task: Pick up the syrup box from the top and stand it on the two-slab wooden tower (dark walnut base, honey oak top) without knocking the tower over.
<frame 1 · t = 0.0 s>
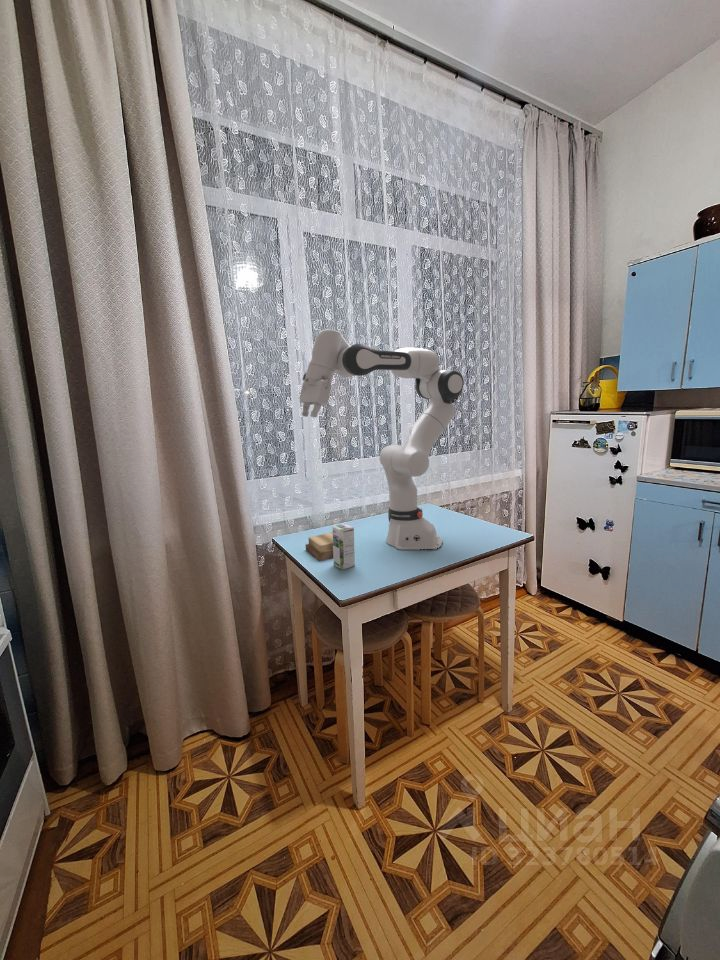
hand: (308, 416, 134), 52 cm above the table, tool tilted 20°, fingers open, 8 cm apart
oak top slab: (327, 546, 151), point 2 cm above the table, touching walnut base slab
walnut base slab: (328, 553, 152), on the table, touching oak top slab
syrup box: (344, 565, 139), on the table
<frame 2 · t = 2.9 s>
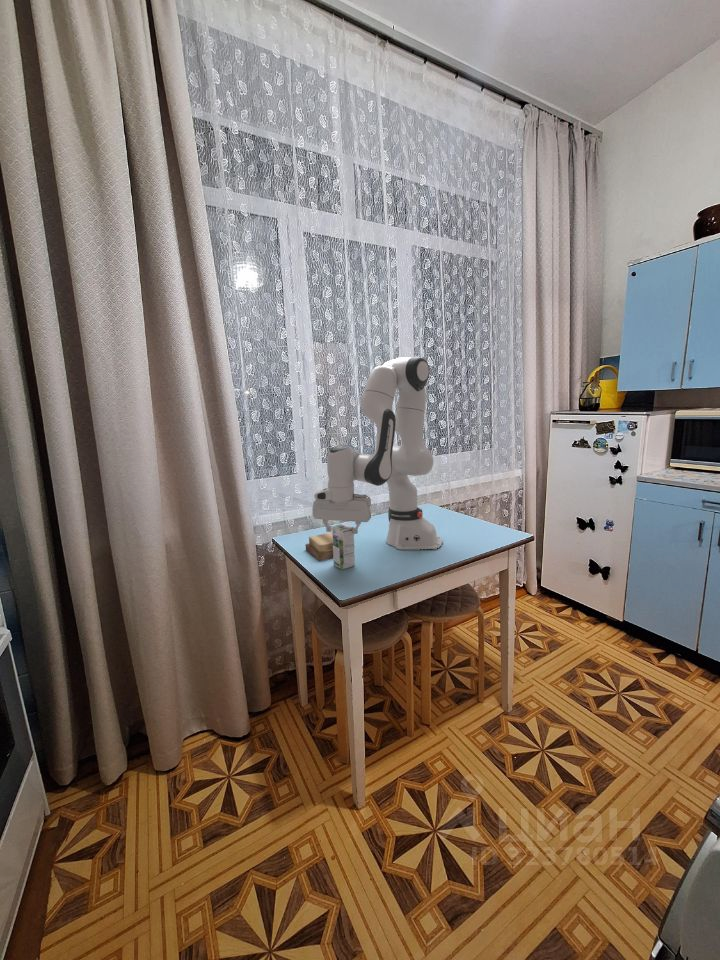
hand: (342, 532, 136), 12 cm above the table, tool pointing down, fingers open, 8 cm apart
nothing on the table moved.
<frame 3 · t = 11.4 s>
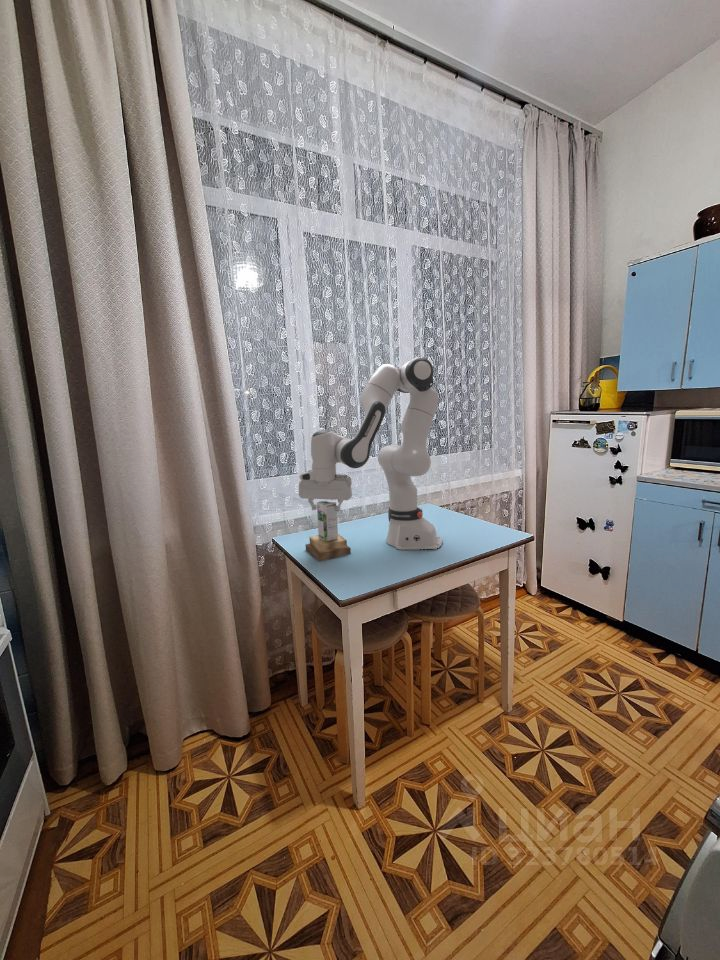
hand: (326, 510, 148), 17 cm above the table, tool pointing down, fingers open, 8 cm apart
oak top slab: (328, 545, 151), point 2 cm above the table, touching syrup box, walnut base slab
syrup box: (328, 538, 150), point 5 cm above the table, touching gripper, oak top slab
everything else where it was.
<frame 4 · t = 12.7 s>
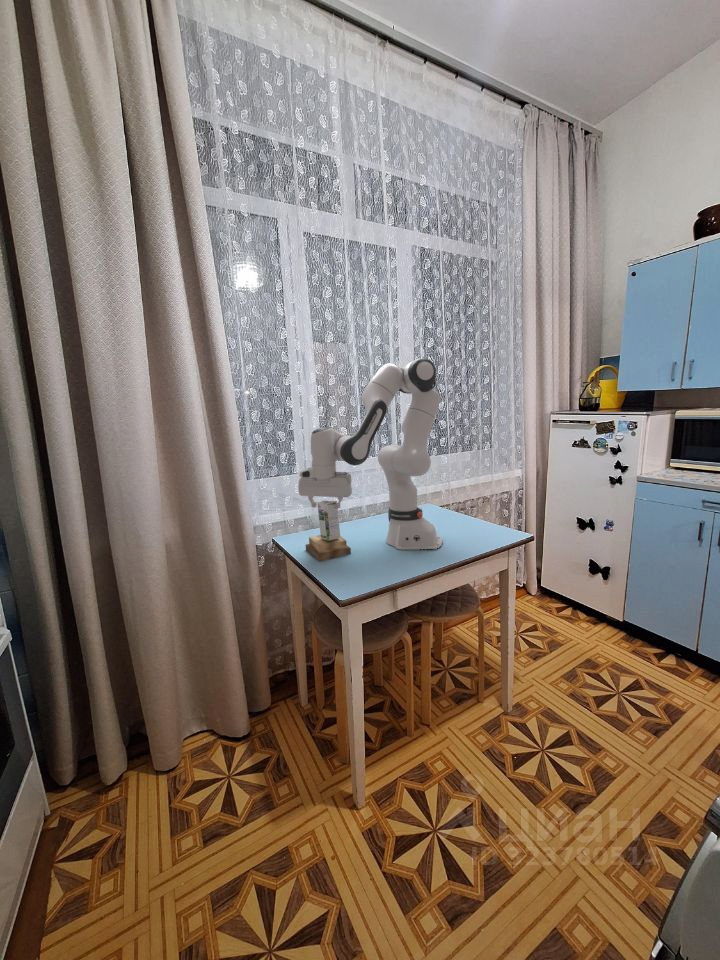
hand: (326, 507, 148), 18 cm above the table, tool pointing down, fingers open, 8 cm apart
syrup box: (330, 538, 150), point 5 cm above the table, touching oak top slab
everything else where it was.
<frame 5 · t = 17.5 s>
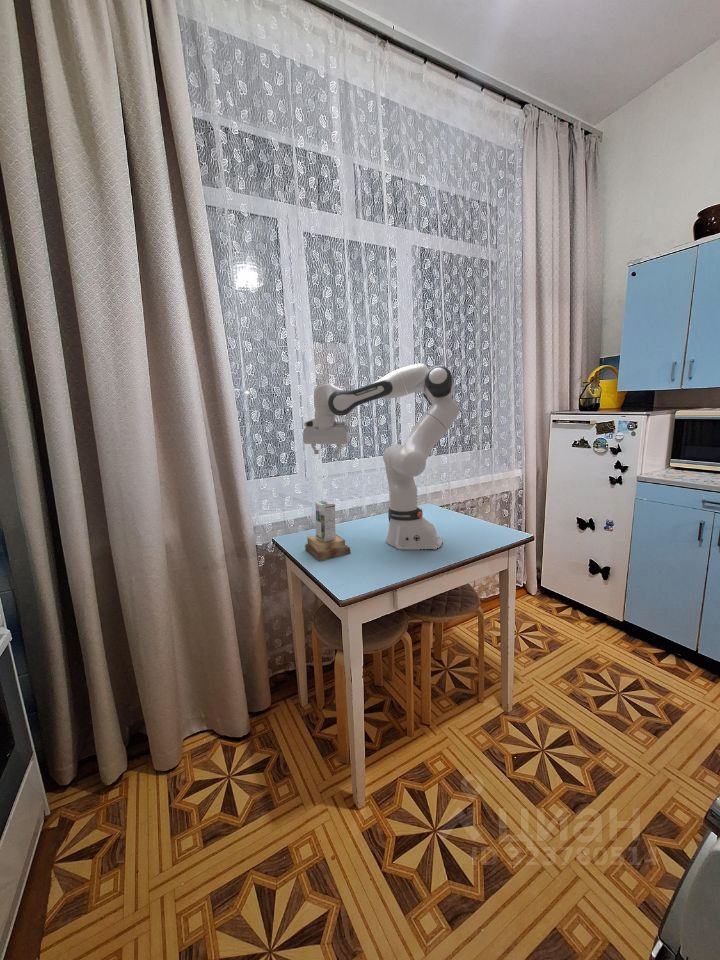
hand: (326, 454, 171), 34 cm above the table, tool pointing down, fingers open, 8 cm apart
syrup box: (325, 539, 150), point 5 cm above the table, touching oak top slab
everything else where it was.
at the end: syrup box 0.7 cm off-centre on the oak top slab, point 2.9 cm above the oak top slab's base; syrup box tilted 2°; oak top slab 0.4 cm from the target spot, point 2.2 cm above the table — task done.
